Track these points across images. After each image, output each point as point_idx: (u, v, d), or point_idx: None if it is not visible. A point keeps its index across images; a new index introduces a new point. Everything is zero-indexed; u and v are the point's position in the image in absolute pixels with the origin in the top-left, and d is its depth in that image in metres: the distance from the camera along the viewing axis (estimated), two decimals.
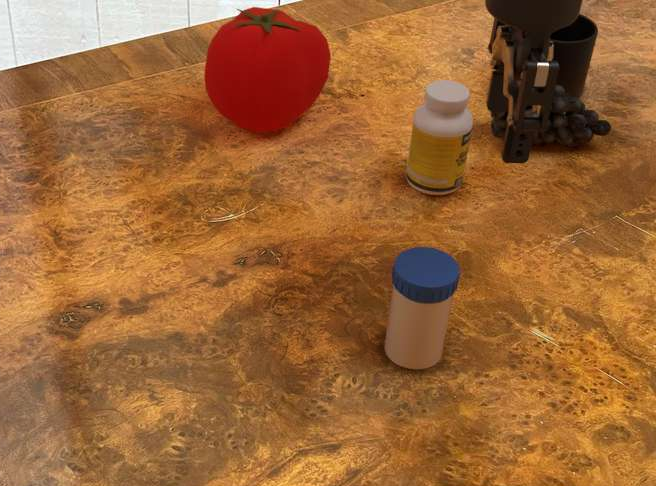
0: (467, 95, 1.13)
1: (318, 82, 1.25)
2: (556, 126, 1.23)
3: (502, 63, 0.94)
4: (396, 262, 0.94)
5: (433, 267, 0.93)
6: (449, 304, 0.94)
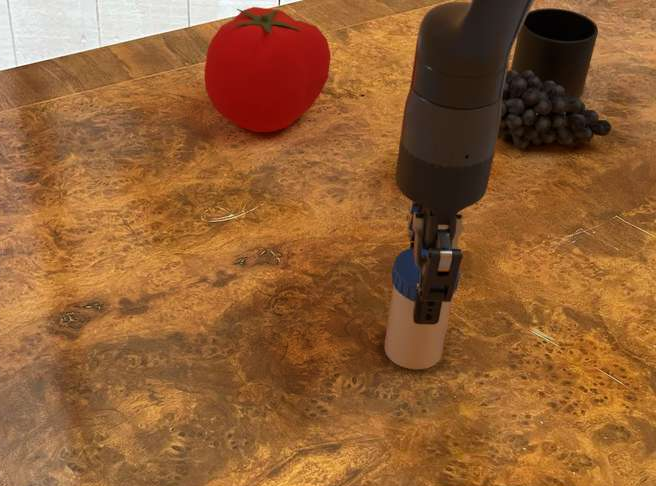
0: None
1: (318, 82, 1.25)
2: (556, 126, 1.23)
3: None
4: (396, 262, 0.93)
5: None
6: (449, 304, 0.94)
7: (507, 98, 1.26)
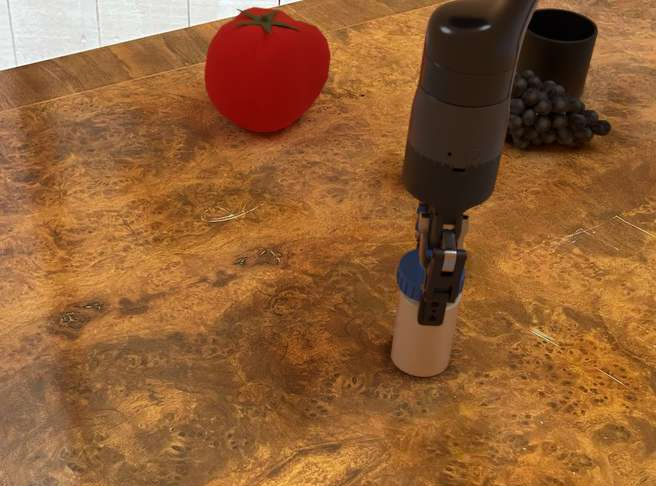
0: None
1: (318, 82, 1.25)
2: (556, 126, 1.23)
3: None
4: (463, 272, 0.92)
5: None
6: (458, 308, 0.94)
7: None
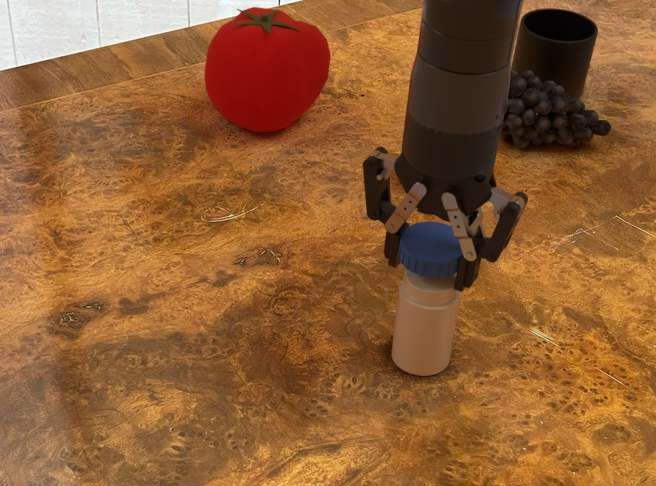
0: None
1: (318, 82, 1.25)
2: (556, 126, 1.23)
3: None
4: (450, 226, 0.93)
5: (430, 244, 0.91)
6: (458, 306, 0.94)
7: None
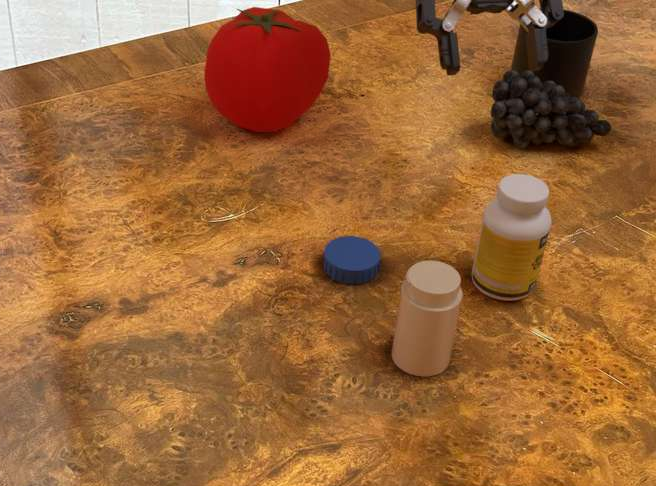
0: (546, 193, 0.99)
1: (318, 82, 1.25)
2: (556, 126, 1.23)
3: (529, 24, 1.06)
4: (367, 240, 1.09)
5: (349, 255, 1.07)
6: (459, 308, 0.94)
7: (507, 98, 1.26)
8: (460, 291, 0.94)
